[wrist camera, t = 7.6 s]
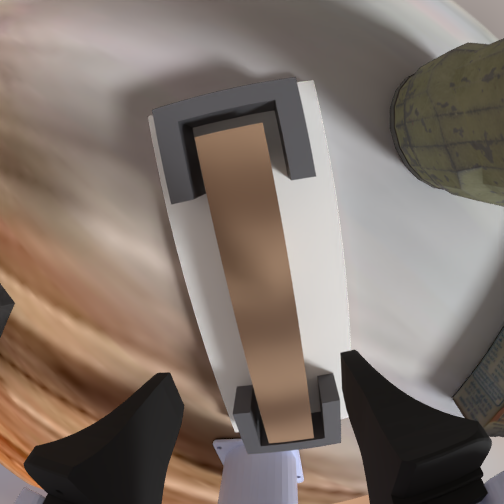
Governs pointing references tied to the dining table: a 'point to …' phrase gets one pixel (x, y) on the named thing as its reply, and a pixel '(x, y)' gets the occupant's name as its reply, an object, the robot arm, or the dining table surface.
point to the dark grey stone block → (486, 391)
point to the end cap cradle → (296, 237)
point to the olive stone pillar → (455, 122)
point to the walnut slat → (258, 274)
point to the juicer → (4, 308)
